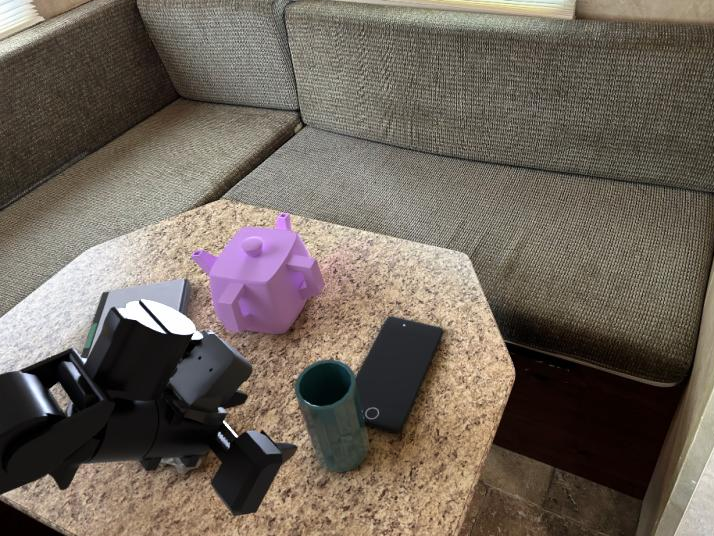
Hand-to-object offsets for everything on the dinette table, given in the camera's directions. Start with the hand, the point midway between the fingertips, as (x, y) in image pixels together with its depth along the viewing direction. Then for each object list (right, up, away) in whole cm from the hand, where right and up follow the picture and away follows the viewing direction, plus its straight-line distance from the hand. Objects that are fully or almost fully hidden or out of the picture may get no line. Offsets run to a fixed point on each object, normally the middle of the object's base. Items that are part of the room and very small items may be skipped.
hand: (269, 423), depth 64 cm
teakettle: (-7, +10, +34) cm, 36 cm away
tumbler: (+7, -7, +12) cm, 15 cm away
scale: (-27, +4, +29) cm, 40 cm away
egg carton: (-15, -7, +15) cm, 22 cm away
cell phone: (+13, +1, +20) cm, 24 cm away
